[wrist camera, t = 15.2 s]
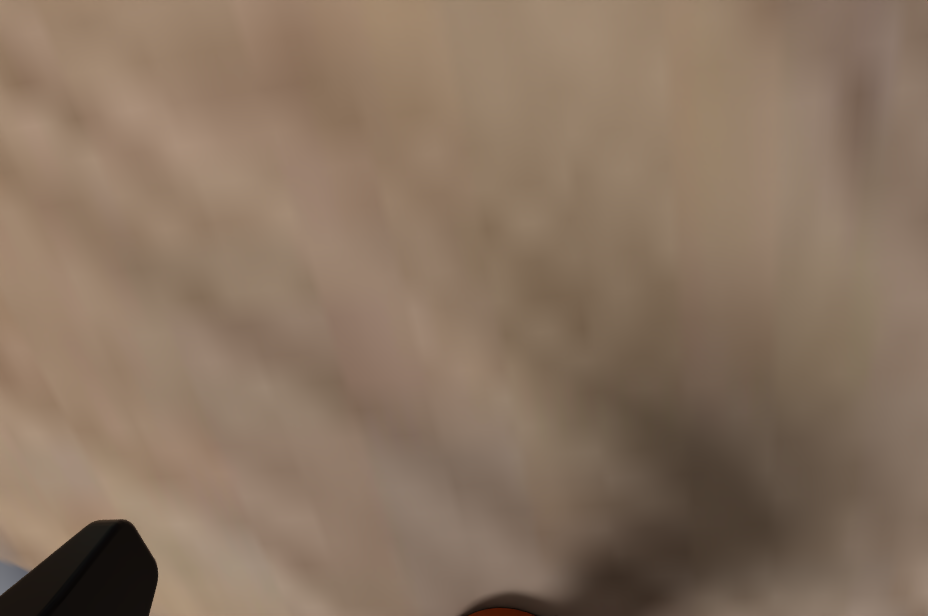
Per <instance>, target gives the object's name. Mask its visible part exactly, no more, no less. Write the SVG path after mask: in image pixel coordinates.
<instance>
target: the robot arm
mask: <svg viewBox="0 0 928 616" xmlns="http://www.w3.org/2000/svg"><path fill="white" fill-rule="evenodd" d="M157 581H158V568H157V564H156V561H155V559H154V557H153V556H152V554H151V553H150V551H149V549H148V548H147V546H146V544H145V543H144V541H143V540H142V538H141V536H140V535H139V533H138V531H137V530H136V528H135V527H134V525H133V524H132V523H131V522H129V521H127V520H123V519H119V520H98V521H94V522H92V523H90V524H89V525H87V526H86V527H85V528H83V529H82V530H81V531H80V532H78V533H77V534H76V535H75V536H73V537H72V538H71V539H70V540H69V541H67V542H66V543H65V544H64V545H62V546H61V547H60V548H59V549H57V550H56V551H55V552H54V553H53V554H51V555H50V556H49V557H48V558H46V559H45V560H44V561H43V562H41V563H40V564H39V565H38V566H36V567H35V568H34V569H33V570H32V571H30V572H29V573H28V574H27V575H25V576H24V577H23V578H22V579H21V580H19V581H18V582H17V583H16V584H14V585H13V586H12V587H11V588H9V589H8V590H7V591H6V592H4V593H3V594H2V595H1V596H0V616H149V613H150V609H151V605H152V601H153V598H154V594H155V590H156V586H157Z"/></svg>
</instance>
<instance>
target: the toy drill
mask: <svg viewBox="0 0 928 616" xmlns="http://www.w3.org/2000/svg"><path fill="white" fill-rule="evenodd" d="M468 616H535V615H532V614H530V613H527V612H523V611H519V610H515V609H508V608H493V609H486V610H482V611H478V612H475V613H473V614H470V615H468Z"/></svg>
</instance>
